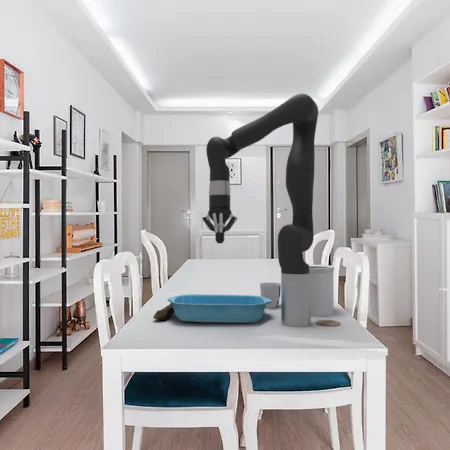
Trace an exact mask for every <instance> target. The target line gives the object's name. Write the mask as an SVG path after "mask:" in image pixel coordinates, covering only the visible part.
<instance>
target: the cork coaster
mask: <svg viewBox="0 0 450 450" xmlns="http://www.w3.org/2000/svg"><path fill="white" fill-rule="evenodd" d="M315 324H316V325H317V326H322V327H338V326H341V322H340V321H338V320H333V319H317V320H316V321H315Z"/></svg>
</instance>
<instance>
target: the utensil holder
mask: <svg viewBox="0 0 450 450" xmlns="http://www.w3.org/2000/svg"><path fill="white" fill-rule="evenodd" d="M308 265H309V286H310V296H311V317H327V316H332V315H333V314H334V303H335V302H334V301H335V300H334V298H335V297H334V294H335V293H334V292H335V291H334V290H335V288H334V286H335V285H334V272H335V267H334V265H329V264H326V265H325V264H308Z"/></svg>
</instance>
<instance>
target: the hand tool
mask: <svg viewBox="0 0 450 450" xmlns="http://www.w3.org/2000/svg"><path fill="white" fill-rule="evenodd" d="M173 314H175V312H174V308H173V304H172V302H169V305H166V306H165V307H164V308H162V309H160V310H157V311H156V312H155V314H154V315H153V317H152V318H153V319H154V320H163V321H164V320H168V319H170V317H171V315H173Z"/></svg>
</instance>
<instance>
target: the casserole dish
mask: <svg viewBox="0 0 450 450" xmlns="http://www.w3.org/2000/svg"><path fill="white" fill-rule="evenodd" d="M166 299H167V301H168V302H169V303H171V302H172V304H173V308H174V314H175V316H176V317H177V318H178V319H179V321H182V322H189V323H191V322H193V323H229V324H230V323H231V324H232V323H234V324H235V323H237V324H238V323H239V324H240V323H243V324H247V323H248V324H249V323H257V322H258V321H260V320H261V319H262V317H263V315H264V312H265V309H266V308H265V306H266V304H268V303H271V302H272V300H271V299H269V298H264V297H262V296H261V295H251V294H250V295H249V294H248V295H247V294H203V293H201V294H200V293H199V294H198V293H197V294H196V293H195V294H194V293H193V294H192V293H191V294H179V295H174V296H170V297H168V298H166Z"/></svg>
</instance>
